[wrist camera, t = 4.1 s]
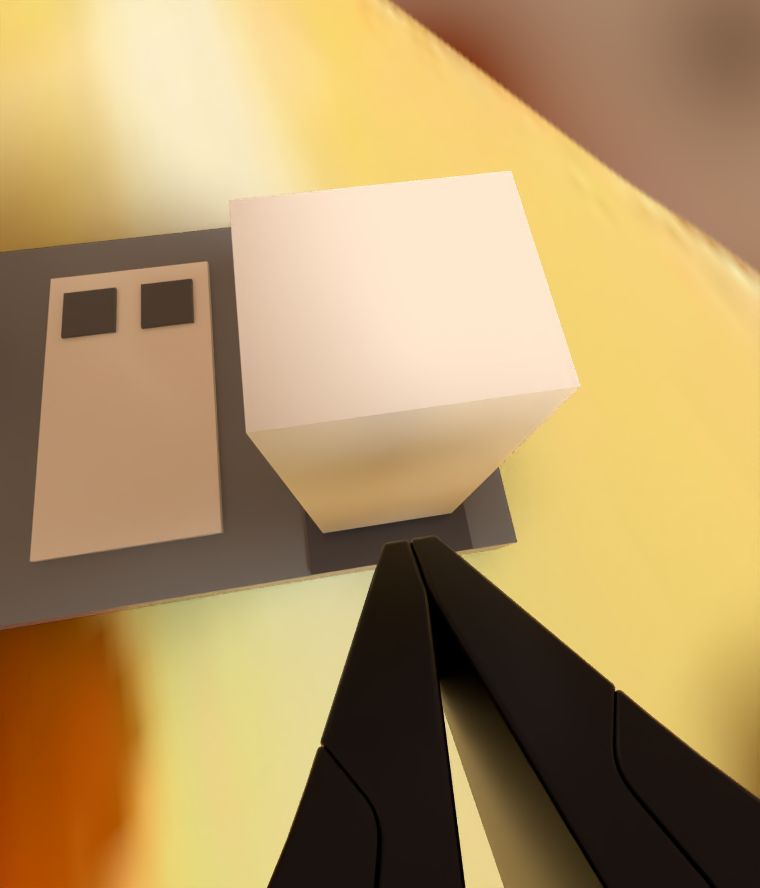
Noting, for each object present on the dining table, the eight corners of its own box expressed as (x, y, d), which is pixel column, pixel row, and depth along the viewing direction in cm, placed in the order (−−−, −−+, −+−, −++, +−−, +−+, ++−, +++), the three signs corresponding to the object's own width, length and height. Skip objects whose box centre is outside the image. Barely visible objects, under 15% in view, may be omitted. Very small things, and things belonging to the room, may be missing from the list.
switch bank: (497, 548, 15) (521, 540, 12) (-210, 664, 13) (-329, 678, 11) (427, 245, 18) (435, 196, 16) (-133, 309, 17) (-210, 266, 15)
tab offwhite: (451, 513, 12) (580, 386, 5) (322, 533, 12) (246, 433, 5) (430, 411, 13) (510, 170, 6) (310, 428, 13) (229, 199, 5)
